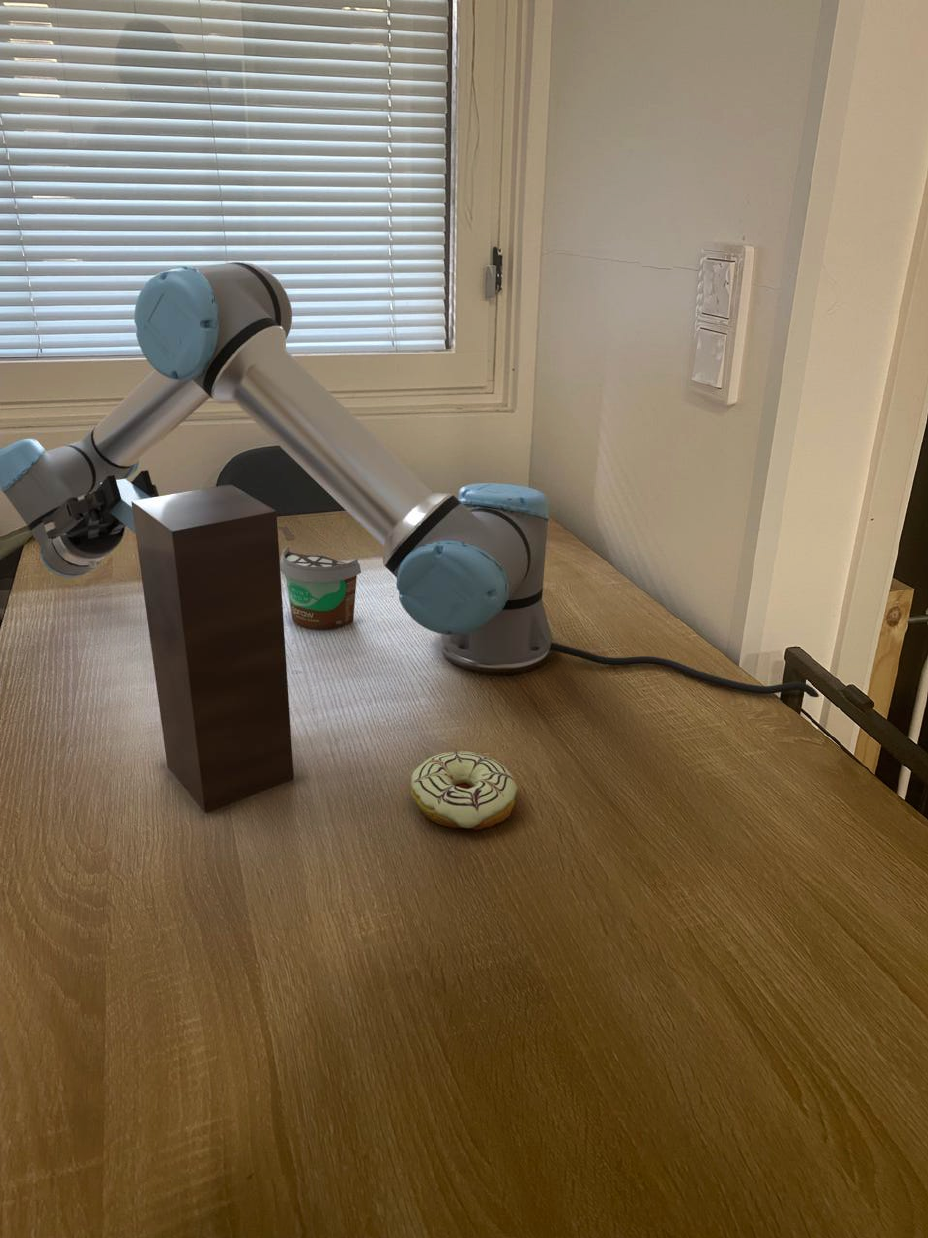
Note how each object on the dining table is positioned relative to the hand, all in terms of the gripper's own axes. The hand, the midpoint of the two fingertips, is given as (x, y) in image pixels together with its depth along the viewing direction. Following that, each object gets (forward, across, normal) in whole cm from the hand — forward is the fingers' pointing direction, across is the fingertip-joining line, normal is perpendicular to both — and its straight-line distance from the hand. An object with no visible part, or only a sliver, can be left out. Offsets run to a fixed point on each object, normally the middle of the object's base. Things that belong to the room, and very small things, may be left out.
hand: (131, 484), depth 101 cm
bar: (0, 0, -5) cm, 5 cm away
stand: (+4, 0, -33) cm, 34 cm away
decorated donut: (+21, -17, -43) cm, 51 cm away
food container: (-19, -26, -20) cm, 38 cm away
